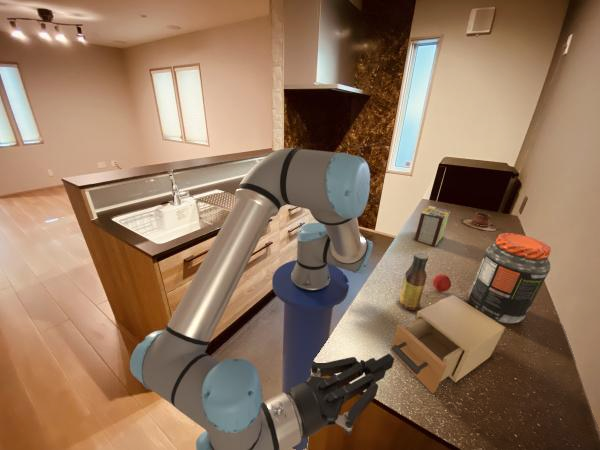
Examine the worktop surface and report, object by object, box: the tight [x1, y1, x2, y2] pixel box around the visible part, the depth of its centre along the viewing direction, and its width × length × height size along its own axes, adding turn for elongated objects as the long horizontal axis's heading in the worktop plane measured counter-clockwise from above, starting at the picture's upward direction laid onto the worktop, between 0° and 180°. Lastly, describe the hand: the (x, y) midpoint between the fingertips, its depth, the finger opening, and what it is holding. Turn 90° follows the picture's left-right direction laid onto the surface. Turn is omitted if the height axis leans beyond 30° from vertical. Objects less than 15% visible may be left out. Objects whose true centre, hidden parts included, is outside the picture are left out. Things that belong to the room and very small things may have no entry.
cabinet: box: [414, 294, 506, 383], centre depth 67 cm, size 16×14×11 cm
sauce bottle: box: [399, 251, 429, 311], centre depth 80 cm, size 7×6×20 cm
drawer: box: [390, 318, 465, 394], centre depth 62 cm, size 19×13×9 cm, turn 118°
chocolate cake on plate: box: [462, 212, 497, 232], centre depth 152 cm, size 18×18×7 cm
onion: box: [432, 273, 452, 293], centre depth 90 cm, size 6×6×8 cm
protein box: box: [414, 205, 451, 247], centre depth 129 cm, size 10×15×16 cm
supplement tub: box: [468, 232, 552, 324], centre depth 79 cm, size 16×16×26 cm
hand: (390, 360), depth 53 cm, fingers closed
